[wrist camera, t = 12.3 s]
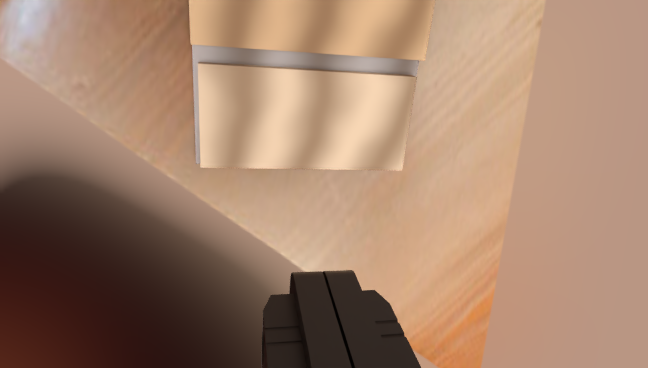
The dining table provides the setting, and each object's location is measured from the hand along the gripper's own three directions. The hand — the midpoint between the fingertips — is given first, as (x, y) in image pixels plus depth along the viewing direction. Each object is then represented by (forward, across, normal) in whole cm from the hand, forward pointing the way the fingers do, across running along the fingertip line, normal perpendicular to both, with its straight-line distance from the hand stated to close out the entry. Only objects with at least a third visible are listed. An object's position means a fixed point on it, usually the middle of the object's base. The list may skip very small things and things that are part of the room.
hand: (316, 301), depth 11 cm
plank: (+28, -4, +3) cm, 28 cm away
